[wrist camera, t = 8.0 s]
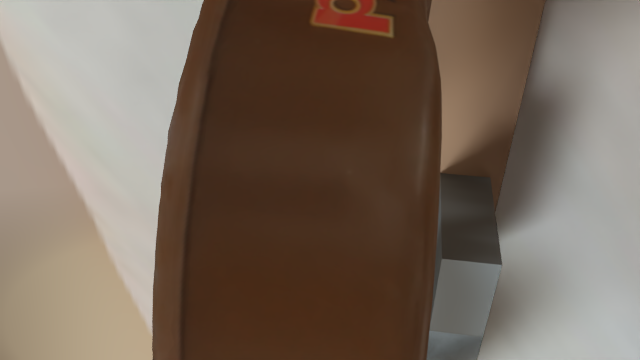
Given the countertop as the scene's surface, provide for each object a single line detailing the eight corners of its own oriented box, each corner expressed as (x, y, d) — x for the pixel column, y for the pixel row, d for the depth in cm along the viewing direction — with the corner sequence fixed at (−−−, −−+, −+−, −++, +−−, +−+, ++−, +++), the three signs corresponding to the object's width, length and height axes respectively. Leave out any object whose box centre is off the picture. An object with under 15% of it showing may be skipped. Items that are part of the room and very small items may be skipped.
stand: (614, -349, 15) (706, -391, 10) (476, 259, 29) (486, 374, 23) (240, -344, 17) (153, -380, 11) (274, 237, 30) (241, 342, 25)
